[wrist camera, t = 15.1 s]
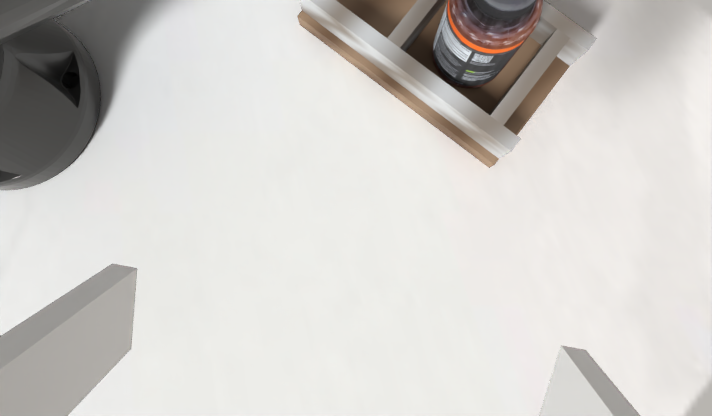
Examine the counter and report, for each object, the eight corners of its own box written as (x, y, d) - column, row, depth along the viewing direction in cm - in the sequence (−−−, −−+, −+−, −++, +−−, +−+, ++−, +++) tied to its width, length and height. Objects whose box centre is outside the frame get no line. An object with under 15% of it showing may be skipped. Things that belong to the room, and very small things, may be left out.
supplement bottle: (487, 9, 39) (540, -88, 27) (515, 75, 38) (581, 4, 27) (419, 34, 39) (444, -53, 27) (446, 101, 38) (483, 41, 27)
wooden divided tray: (299, 24, 40) (292, -4, 36) (386, -82, 41) (389, -123, 36) (489, 167, 39) (506, 157, 35) (574, 56, 40) (601, 32, 35)
